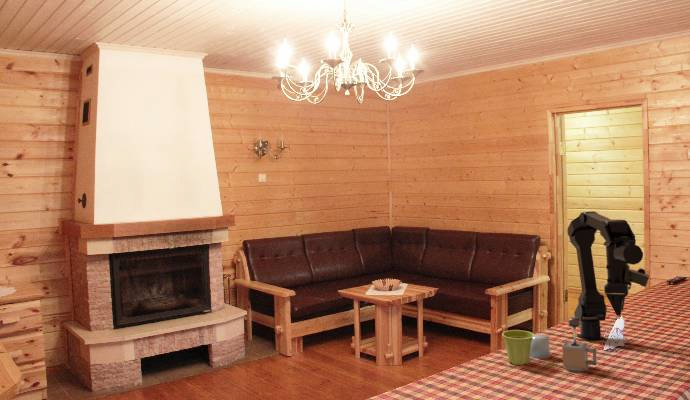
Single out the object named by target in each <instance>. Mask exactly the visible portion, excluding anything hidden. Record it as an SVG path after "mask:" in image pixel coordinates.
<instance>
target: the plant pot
mask: <svg viewBox="0 0 690 400" xmlns="http://www.w3.org/2000/svg"><path fill="white" fill-rule="evenodd" d="M501 335H502V337H503V340H504V341H505V343H504V344H505V349H506V354H507V355H506V356H507V361H508V363H511V364H512V365H515V366H523V365H528V364H529V363H530V358H531V357H530V350H531V342H532V339H533V337H534V333H533V332H531V331H527V330H520V329H511V330H506V331H503V332H502V334H501Z"/></svg>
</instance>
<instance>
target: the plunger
mask: <svg viewBox="0 0 690 400" xmlns="http://www.w3.org/2000/svg"><path fill="white" fill-rule="evenodd" d="M568 326H569V327H572V333H573V334H572V335H573V336H572V338H573V341H572V342H574V346H577V343H576V342H577V327H580V318H576V317H575V316H574V317H573V316H572V317H568Z"/></svg>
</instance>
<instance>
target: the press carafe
mask: <svg viewBox="0 0 690 400" xmlns="http://www.w3.org/2000/svg"><path fill="white" fill-rule="evenodd" d="M576 343H577V346H574V341H569V340H567V341H564V343H563V345H562V347H561V349H562V366H563V369H564V370H565V371H568V372H572V373H574V372H575V373H580V372H581V373H582V372H587V371H589V366H597V365H598V363H597V348H596V347H595V348H594V347H588V346H589V343H588V342H579V341H576ZM589 353H592V360H589Z"/></svg>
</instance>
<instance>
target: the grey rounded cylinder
mask: <svg viewBox="0 0 690 400" xmlns="http://www.w3.org/2000/svg"><path fill="white" fill-rule="evenodd" d="M533 334H534V333H533ZM550 353H551V352H550V336H549V335H546V334H541V333H540V334H539V333H537V334H536V333H535V334H534V337H533V339H532V342H531V350H530V358H532V359H538V360H542V359H543V360H544V359H549V358H550Z"/></svg>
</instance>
